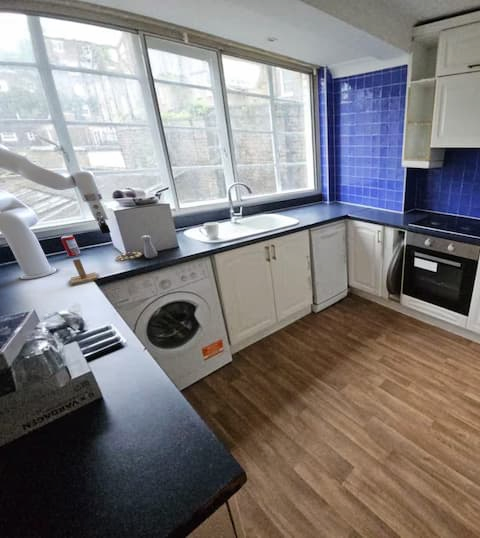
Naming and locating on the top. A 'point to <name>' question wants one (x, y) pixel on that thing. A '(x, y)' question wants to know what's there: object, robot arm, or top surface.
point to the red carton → (71, 246)
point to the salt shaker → (148, 247)
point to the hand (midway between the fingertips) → (105, 231)
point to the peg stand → (82, 274)
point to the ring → (120, 257)
